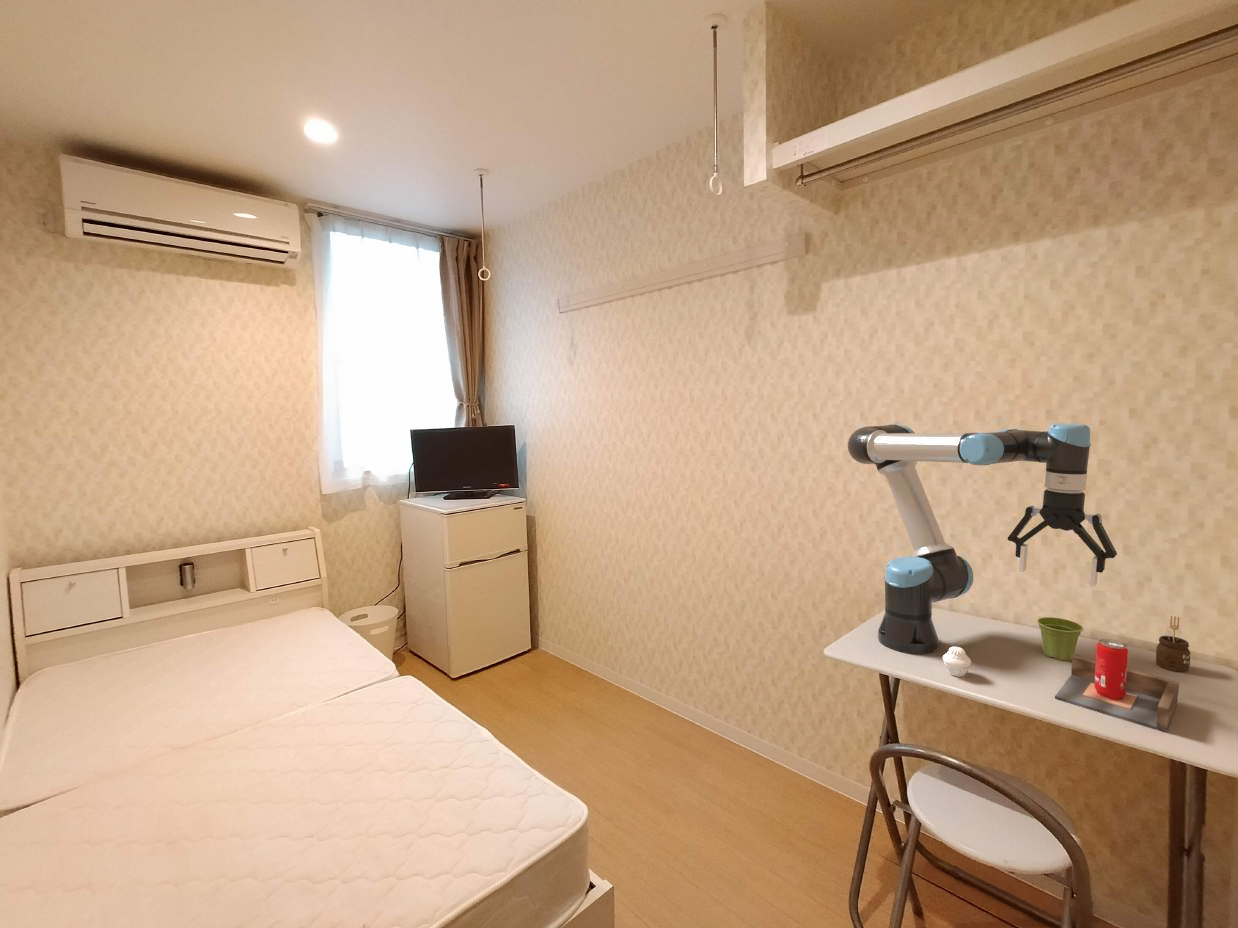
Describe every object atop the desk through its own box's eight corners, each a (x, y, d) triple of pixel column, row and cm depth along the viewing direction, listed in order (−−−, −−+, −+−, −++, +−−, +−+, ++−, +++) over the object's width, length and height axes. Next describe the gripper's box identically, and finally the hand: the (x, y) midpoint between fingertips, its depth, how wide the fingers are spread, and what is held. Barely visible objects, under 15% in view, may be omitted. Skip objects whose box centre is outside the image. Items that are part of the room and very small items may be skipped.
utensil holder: (1155, 667, 136) (1158, 620, 135) (1155, 658, 141) (1158, 613, 140) (1189, 674, 132) (1192, 626, 131) (1188, 665, 137) (1191, 618, 135)
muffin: (955, 681, 133) (956, 653, 133) (936, 669, 139) (936, 643, 139) (977, 677, 135) (978, 650, 134) (957, 666, 141) (958, 640, 140)
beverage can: (1095, 686, 127) (1098, 636, 126) (1126, 694, 123) (1129, 642, 122) (1092, 695, 123) (1095, 643, 122) (1124, 703, 120) (1127, 650, 118)
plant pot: (1090, 664, 139) (1092, 631, 138) (1047, 662, 141) (1049, 630, 140) (1068, 648, 148) (1069, 617, 147) (1028, 647, 150) (1029, 616, 149)
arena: (1054, 698, 124) (1055, 677, 124) (1072, 674, 134) (1073, 655, 134) (1166, 732, 110) (1168, 708, 110) (1177, 703, 120) (1178, 681, 120)
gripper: (997, 485, 136) (990, 568, 139) (1133, 500, 117) (1123, 595, 120) (1007, 481, 141) (1000, 562, 144) (1139, 495, 122) (1129, 587, 124)
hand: (1056, 577), depth 132 cm, fingers open, 13 cm apart
